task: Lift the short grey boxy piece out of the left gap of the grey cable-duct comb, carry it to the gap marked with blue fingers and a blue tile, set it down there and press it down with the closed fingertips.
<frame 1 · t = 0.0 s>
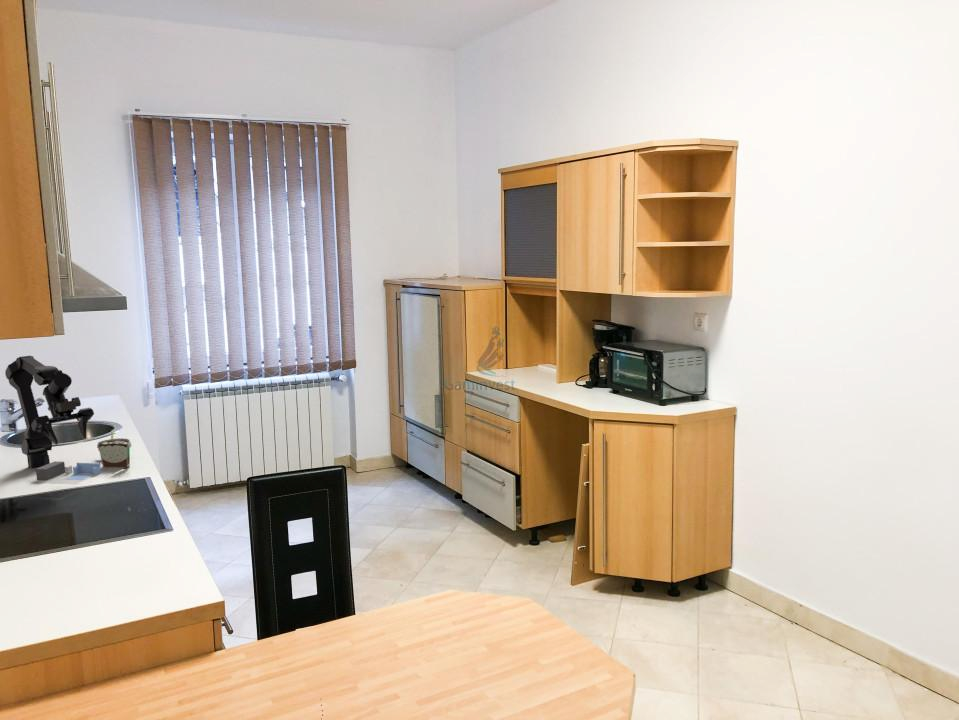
hand: (71, 441, 263), 15 cm above the table, tool tilted 35°, fingers open, 9 cm apart
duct: (63, 479, 270), on the table
cupcake: (111, 459, 295), on the table
food container: (120, 467, 284), on the table
grey boxy piece: (51, 476, 272), point 1 cm above the table, touching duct
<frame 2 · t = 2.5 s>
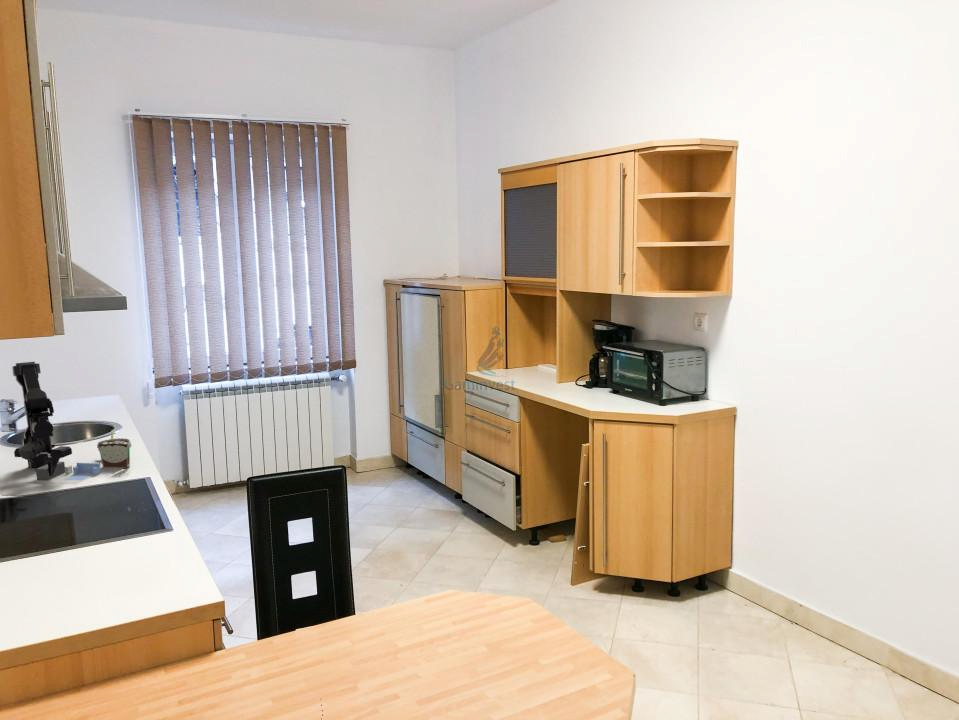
hand: (45, 475, 269), 2 cm above the table, tool pointing down, fingers closed on grey boxy piece, 4 cm apart
grey boxy piece: (51, 476, 272), point 1 cm above the table, touching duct, gripper
everything else where it was.
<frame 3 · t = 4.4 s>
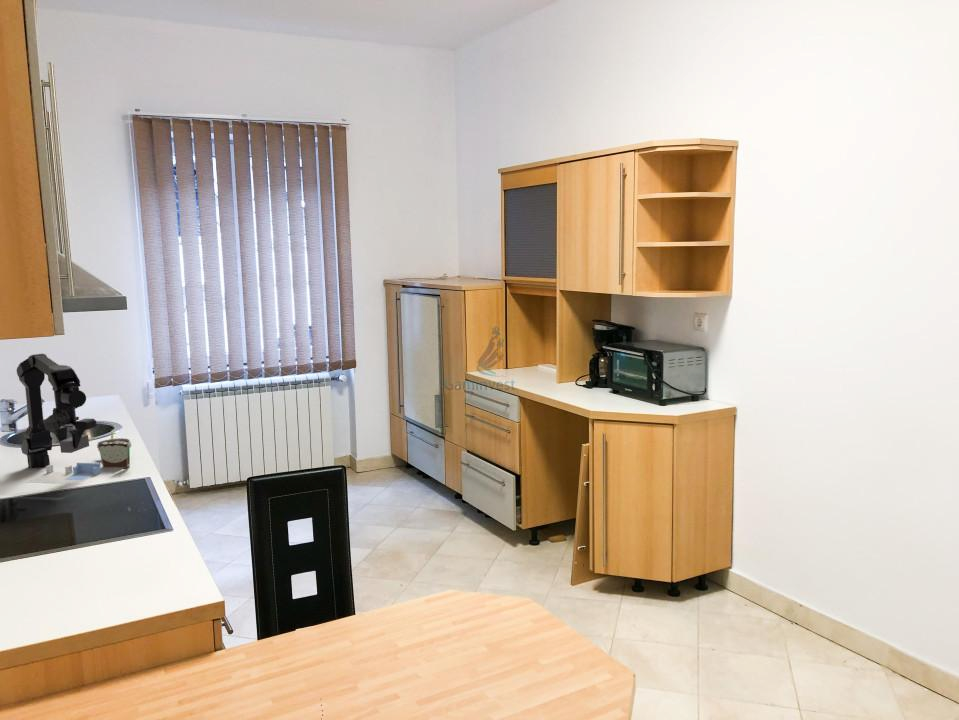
hand: (70, 448, 265), 12 cm above the table, tool pointing down, fingers closed on grey boxy piece, 4 cm apart
grey boxy piece: (75, 449, 268), point 11 cm above the table, touching gripper
everything else where it was.
when the fingers open (3 cm above the table, at t = 6.2 s): grey boxy piece drops 1 cm, resting on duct.
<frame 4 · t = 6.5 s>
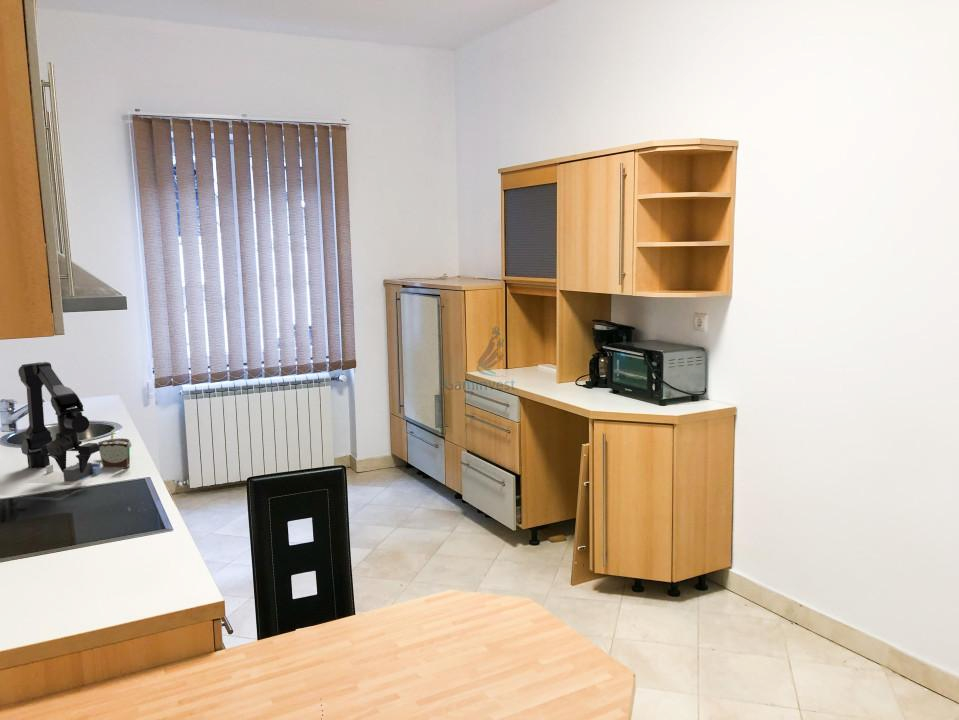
hand: (73, 472, 267), 3 cm above the table, tool pointing down, fingers open, 7 cm apart
grey boxy piece: (78, 477, 269), point 1 cm above the table, touching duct
everything else where it was.
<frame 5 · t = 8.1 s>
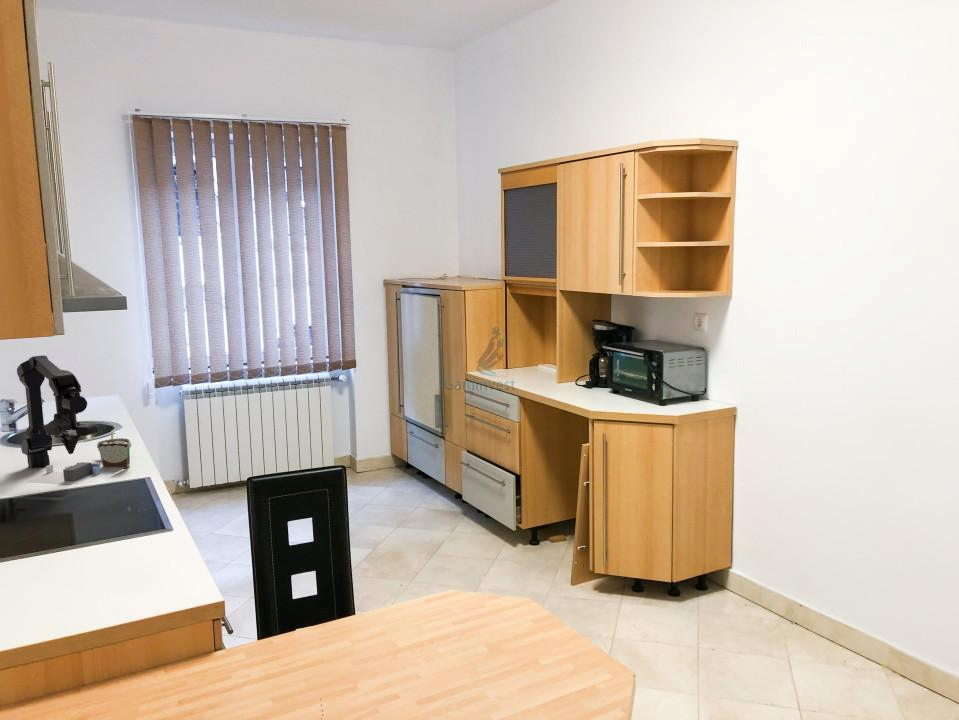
hand: (71, 453, 266), 10 cm above the table, tool pointing down, fingers closed
nothing on the table moved.
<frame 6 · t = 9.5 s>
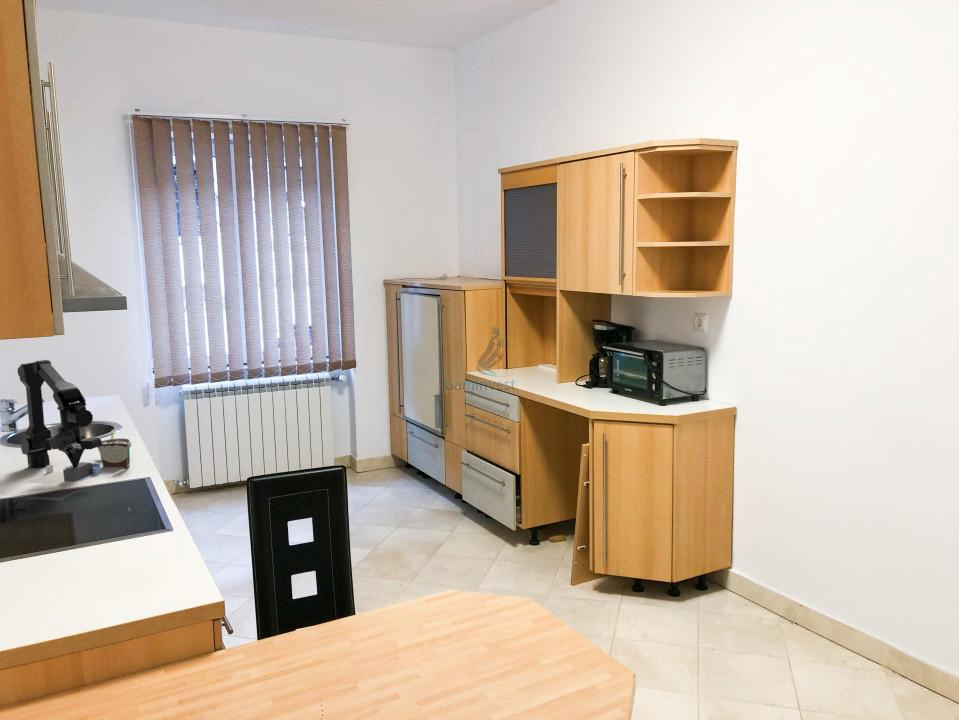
hand: (75, 466, 268), 5 cm above the table, tool pointing down, fingers closed, pressing on grey boxy piece
grey boxy piece: (78, 477, 269), point 1 cm above the table, touching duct, gripper
everything else where it was.
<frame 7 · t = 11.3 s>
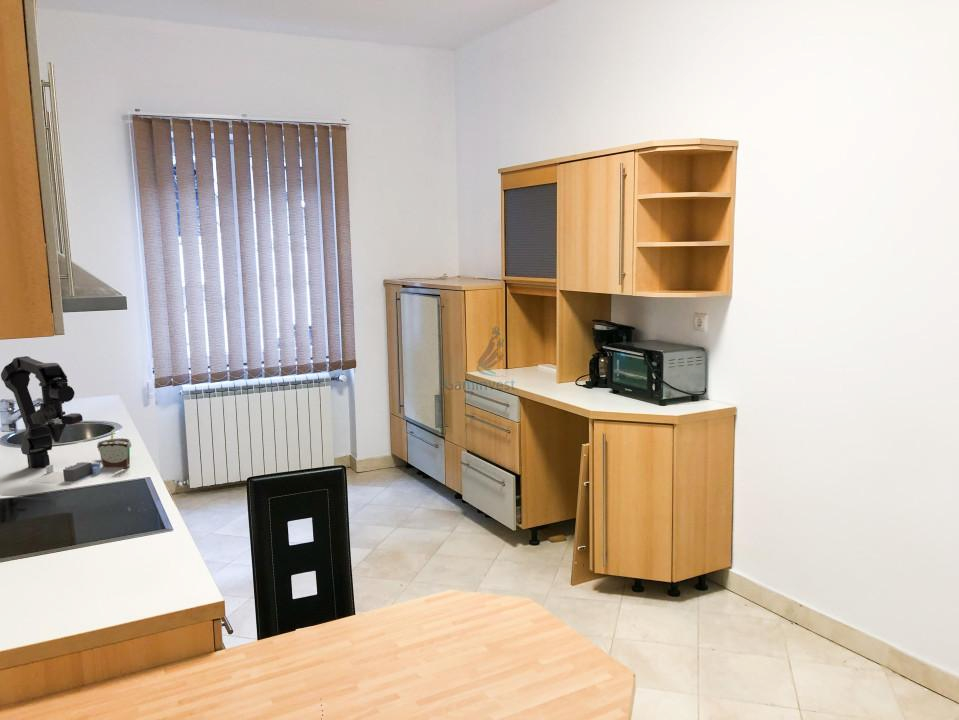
hand: (56, 441, 275), 12 cm above the table, tool pointing down, fingers closed
grey boxy piece: (78, 477, 269), point 1 cm above the table, touching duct
everything else where it was.
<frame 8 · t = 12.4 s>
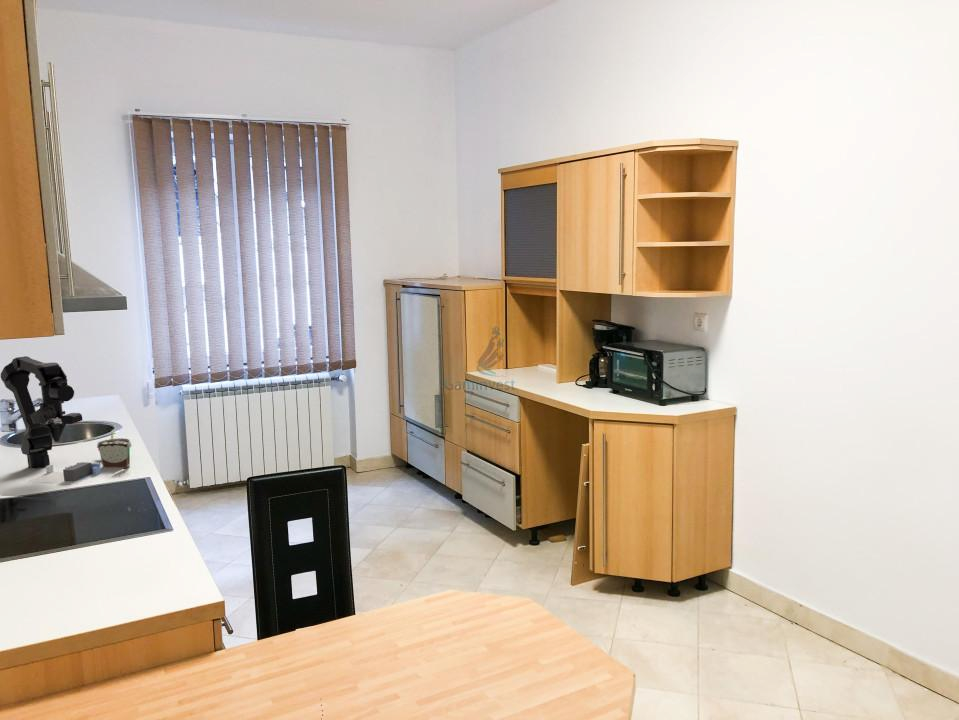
hand: (56, 441, 275), 12 cm above the table, tool pointing down, fingers closed
nothing on the table moved.
at the end: grey boxy piece 0.2 cm from the target spot on the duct, point 0.8 cm above the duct's base; grey boxy piece tilted 0° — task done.
